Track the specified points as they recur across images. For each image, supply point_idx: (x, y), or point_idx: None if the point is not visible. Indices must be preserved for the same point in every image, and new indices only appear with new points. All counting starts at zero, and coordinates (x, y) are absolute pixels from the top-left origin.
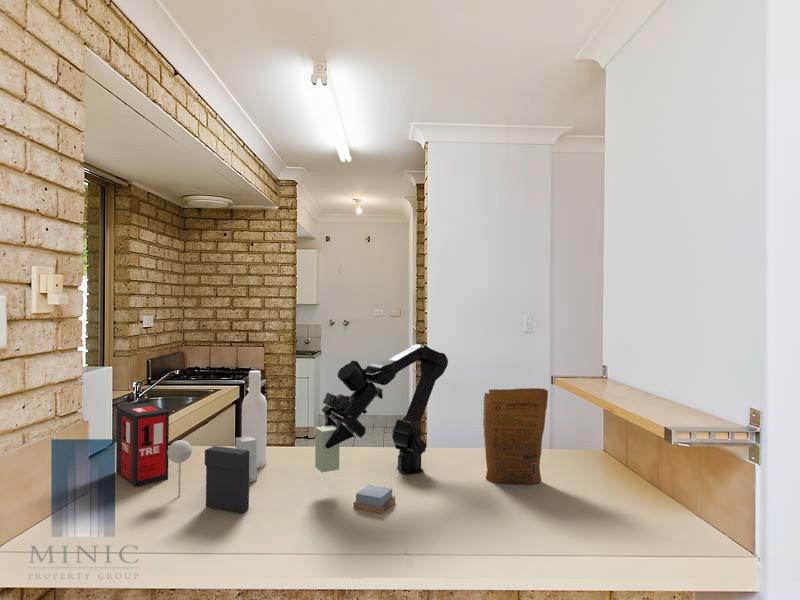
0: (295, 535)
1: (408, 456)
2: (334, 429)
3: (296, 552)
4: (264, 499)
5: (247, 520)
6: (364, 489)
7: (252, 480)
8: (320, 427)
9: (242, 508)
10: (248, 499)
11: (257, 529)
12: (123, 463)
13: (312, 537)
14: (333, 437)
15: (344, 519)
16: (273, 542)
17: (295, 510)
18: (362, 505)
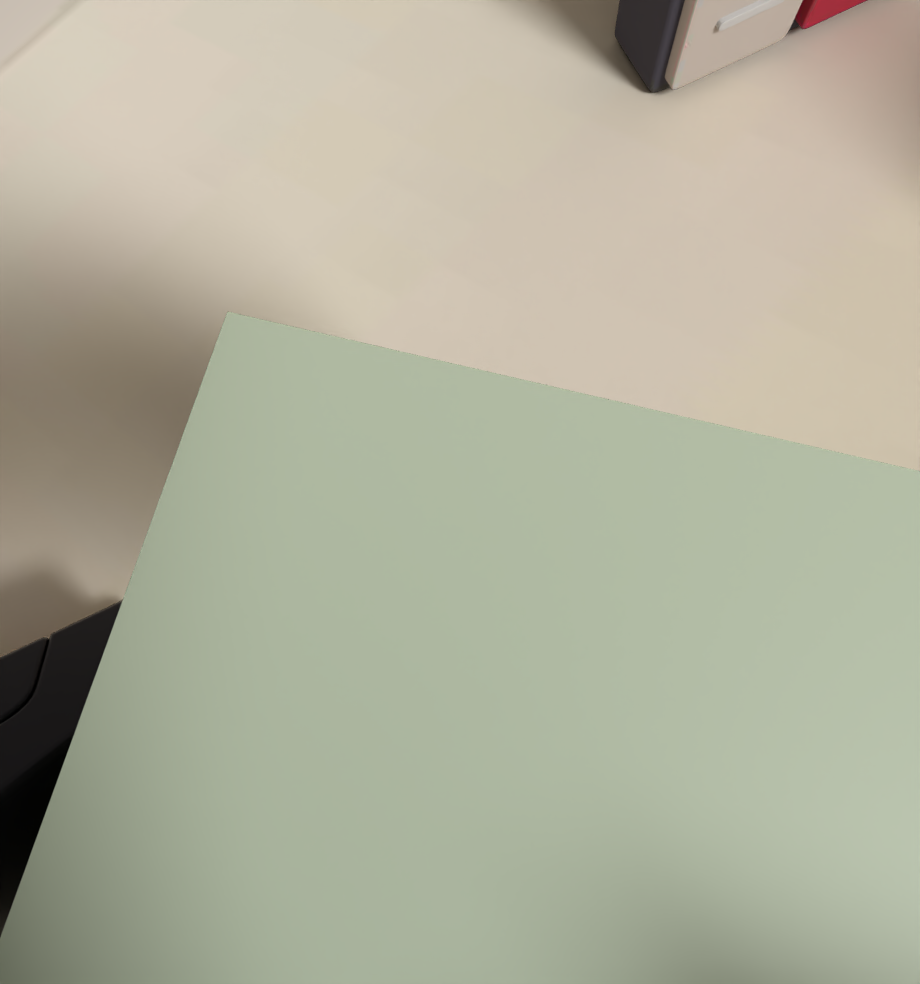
0: (144, 143)
1: None
2: (79, 889)
3: (6, 67)
4: (739, 242)
5: (505, 34)
6: None
7: None
8: (815, 628)
9: (620, 15)
10: (658, 31)
11: (360, 31)
12: None
13: (56, 197)
14: (75, 642)
15: (71, 462)
16: (172, 31)
17: (418, 306)
18: None
